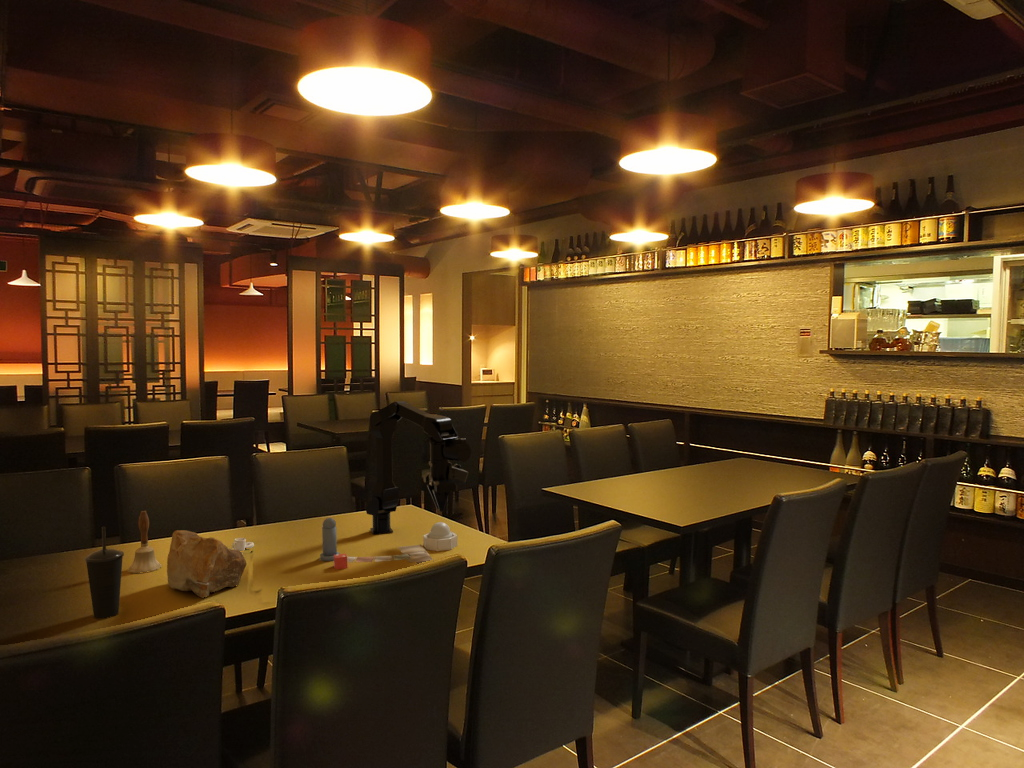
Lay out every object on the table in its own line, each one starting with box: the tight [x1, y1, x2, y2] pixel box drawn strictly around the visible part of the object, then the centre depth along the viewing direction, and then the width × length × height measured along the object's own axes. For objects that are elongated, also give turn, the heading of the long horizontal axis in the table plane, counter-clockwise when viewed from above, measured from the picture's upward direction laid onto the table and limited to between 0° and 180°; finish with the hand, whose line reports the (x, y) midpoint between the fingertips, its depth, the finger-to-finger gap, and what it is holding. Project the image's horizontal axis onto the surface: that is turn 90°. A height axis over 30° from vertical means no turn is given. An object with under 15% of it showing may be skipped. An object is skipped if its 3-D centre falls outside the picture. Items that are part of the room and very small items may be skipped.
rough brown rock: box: [166, 529, 247, 599], centre depth 174 cm, size 23×16×15 cm
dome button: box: [428, 521, 453, 539], centre depth 211 cm, size 7×7×6 cm
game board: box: [318, 544, 434, 565], centre depth 196 cm, size 16×30×1 cm, turn 110°
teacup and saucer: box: [232, 537, 255, 551], centre depth 206 cm, size 9×8×4 cm
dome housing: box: [422, 531, 458, 552], centre depth 211 cm, size 10×10×3 cm
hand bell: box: [127, 510, 163, 574], centre depth 190 cm, size 8×8×16 cm
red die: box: [333, 553, 348, 570], centre depth 187 cm, size 3×3×3 cm
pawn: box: [319, 517, 340, 562], centre depth 195 cm, size 5×5×11 cm
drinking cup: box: [84, 526, 125, 619], centre depth 157 cm, size 8×8×20 cm
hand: (440, 510), depth 210 cm, fingers open, 4 cm apart
